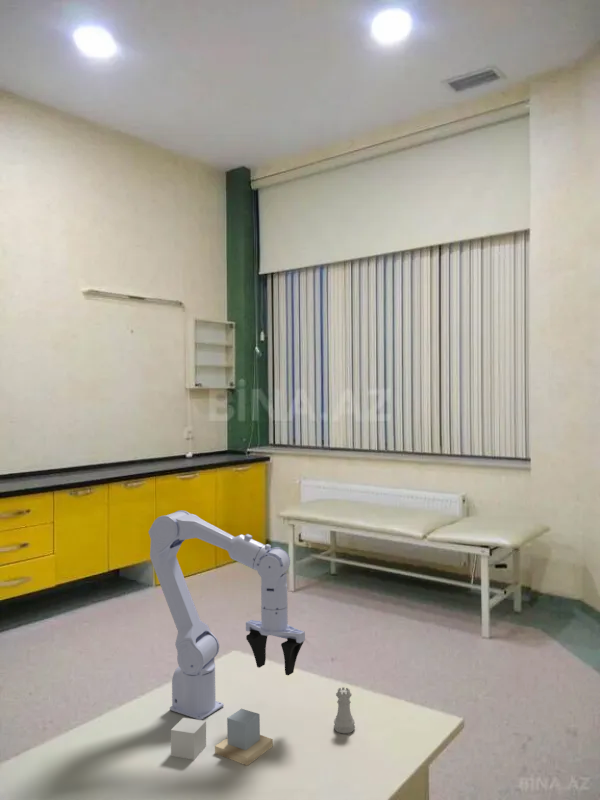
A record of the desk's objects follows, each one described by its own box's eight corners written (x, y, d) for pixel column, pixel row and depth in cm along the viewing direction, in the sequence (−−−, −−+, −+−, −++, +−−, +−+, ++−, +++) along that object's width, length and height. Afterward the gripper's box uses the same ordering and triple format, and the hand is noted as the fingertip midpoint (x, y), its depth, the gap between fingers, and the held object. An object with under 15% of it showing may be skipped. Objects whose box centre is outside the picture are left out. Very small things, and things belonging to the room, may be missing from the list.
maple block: (215, 756, 117) (214, 745, 117) (241, 738, 124) (241, 728, 124) (247, 768, 112) (247, 758, 113) (272, 749, 119) (272, 739, 119)
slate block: (227, 744, 118) (227, 718, 118) (241, 733, 121) (241, 708, 122) (245, 750, 115) (245, 723, 115) (259, 739, 119) (259, 713, 119)
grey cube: (170, 756, 116) (170, 729, 116) (183, 743, 121) (183, 717, 121) (194, 760, 115) (194, 733, 115) (206, 746, 119) (206, 720, 120)
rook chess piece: (353, 735, 123) (353, 695, 123) (332, 733, 124) (331, 693, 124) (356, 724, 127) (355, 686, 127) (335, 722, 128) (334, 684, 128)
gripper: (236, 605, 132) (237, 668, 131) (291, 616, 124) (292, 684, 123) (256, 597, 138) (257, 658, 137) (310, 607, 130) (310, 671, 129)
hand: (275, 669), depth 131 cm, fingers open, 7 cm apart
